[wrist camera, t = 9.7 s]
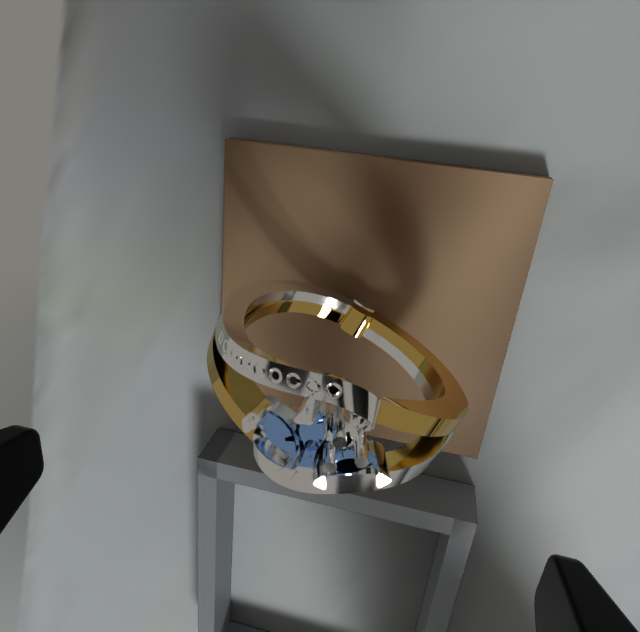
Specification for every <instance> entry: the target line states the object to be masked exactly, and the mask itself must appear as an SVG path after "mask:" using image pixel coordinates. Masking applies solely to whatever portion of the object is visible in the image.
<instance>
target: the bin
mask: <svg viewBox="0 0 640 632" xmlns="http://www.w3.org/2000/svg"><path fill="white" fill-rule="evenodd" d="M234 483H236V484H241V485H245V486H249V487H253V488H257V489H261V490H265V491H269V492H273V493H278V494H282V495H286V496H290V497H294V498H298V499H302V500H306V501H311V502H315V503H319V504H323V505H327V506H331V507H335V508H339V509H343V510H348V511H352V512H356V513H360V514H364V515H368V516H372V517H376V518H381V519H385V520H389V521H393V522H397V523H401V524H405V525H409V526H413V527H418V528H422V529H426V530H430V531H434V532H438V533H440V536H439V540H438V544H437V548H436V552H435V556H434V560H433V564H432V567H431V571H430V575H429V579H428V583H427V587H426V591H425V595H424V599H423V603H422V606H421V610H420V614H419V618H418V622H417V626H416V630H415V632H446V630H447V627H448V623H449V620H450V617H451V613H452V610H453V606H454V603H455V600H456V596H457V593H458V589H459V586H460V582H461V579H462V576H463V572H464V569H465V565H466V562H467V559H468V555H469V552H470V548H471V545H472V542H473V538H474V535H475V531H476V528H477V524H478V523H477V511H476V498H475V486H473V485H468V484H464V483H459V482H455V481H450V480H446V479H441V478H437V477H433V476H428V475H424V474H419V475H418V476H416V477H415V478H413V479H411V480H409V481H407V482H405V483H403V484H400V485H397V486H394V487H390V488H386V489H381V490H375V491H368V492H358V493H346V494H313V493H305V492H299V491H295V490H292V489H289V488H286V487H284V486H282V485H280V484H278V483H276V482H274V481H273V480H272V479H270V478H269V477H268V476H267V475H266V474H265V473H264V472H263V471H262V470H261V469H260V467H259V466H258V464H257V462H256V460H255V457H254V452H253V442H252V441H251V440H250V439H249V438H248V437H247V436H246V435H245V434H242V433H237V432H233V431H228V430H224V429H219V428H218V430H217V431H216V432H215V434H214V435H213V437H212V438H211V440H210V441H209V442H208V444H207V445H206V447H205V448H204V450H203V451H202V452H201V454H200V455H199V457H198V632H266V631H262V630H259V629H255V628H252V627H248V626H245V625H242V624H238V623H235V622H231V621H230V595H231V566H232V538H233V510H234Z"/></svg>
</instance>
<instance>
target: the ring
mask: <svg viewBox="0 0 640 632" xmlns="http://www.w3.org/2000/svg"><path fill="white" fill-rule="evenodd" d="M375 311H376V309H375V308H374V307H373V306H371V305H370V304H368V303H367V302H365V301H363V300H361V299H358V298H354V300H353V299H351V298H349V297H346V296H344V295H342V294H339V293H337V292H334V291H331V290H328V289H325V288H322V287H319V286H315V285H311V284H307V283H302V282H296V281H288V280H264V281H257V282H252V283H249V284H246V285H243V286H241V287H240V288H238V289H236V290H235V291H234V292H233V293H232V294H231V295H230V296H229V297H228V299H227V301H226V303H225V305H224V307H223V310H222V312H221V314H220V316H219V318H218V321H217V325H216V327H215V330H214V332H213V335H212V337H211V340H210V343H209V346H208V352H207V366H208V372H209V377H210V380H211V383H212V386H213V389H214V391H215V393H216V395H217V397H218V399H219V401H220V403H221V404H222V406H223V407H224V409H225V411H226V412H227V413H228V415H229V416H230V417H231V419H232V420H233V421H234V423H235V424H236V425H237V426H238V427H239V428H240V429H241V431H242V432H243V433H244V434H245V435H246V436H247V437H248V438H249V439H250V440H251V441H252V442H253V452H254V457H255V460H256V462H257V464H258V466H259V467H260V469H261V470H262V471H263V472H264V473H265V474H266V475H267V476H268V477H269V478H270V479H272V480H273V481H274V482H276V483H278V484H280V485H282V486H284V487H286V488H289V489H292V490H295V491H299V492H305V493H313V494H346V493H358V492H368V491H375V490H381V489H386V488H390V487H394V486H397V485H400V484H403V483H405V482H407V481H409V480H411V479H413V478H415V477H416V476H418V475H419V474H421V473H422V472H423V471H424V470H426V469H427V468H428V467H429V466H430V464H431V463H432V462H433V461H434V460H435V458H436V457H437V456H438V454H439V453H440V452H441V451H442V449H443V448H444V447H445V445H446V444H447V443H448V441H449V440H450V438H451V436H452V435H453V432H454V431H455V430H456V428H457V427H458V425H459V424H460V423H461V421H462V420H463V419H464V417H465V416H466V414H467V413H468V408H469V407H468V401H467V398H466V396H465V394H464V392H463V390H462V388H461V386H460V385H459V383H458V382H457V380H456V379H455V378H454V376H453V375H452V374H451V373H450V371H449V370H448V369H447V368H446V367H445V366H444V365H443V363H442V362H441V361H440V360H439V359H438V358H437V357H436V356H435V355H434V354H433V353H431V352H430V351H429V350H428V349H427V348H426V347H425V346H424V345H422V344H421V343H420V342H419V341H418V340H416V339H415V338H414V337H413V336H411V335H410V334H409V333H407V332H406V331H404V330H403V329H402V328H400V327H399V326H397V325H396V324H394V323H393V322H391V321H390V320H388V319H387V318H385V317H384V316H382V315H380V314H379V313H377V312H375ZM283 312H297V313H305V314H311V315H315V316H319V317H322V318H325V319H328V320H331V321H333V322H336V323H338V324H340V328H341V329H342V330H344V331H345V332H347V333H348V334H350V335H352V336H354V337H357V338H362V336H363V337H365V338H367V339H368V340H370V341H371V342H373V343H374V344H376V345H377V346H379V347H380V348H381V349H383V350H384V351H385V352H387V353H388V354H389V355H390V356H392V357H393V358H394V359H395V360H396V361H397V362H398V363H399V364H400V365H401V366H402V367H403V368H404V369H405V370H406V371H407V372H408V373H409V374H410V376H411V377H412V378H413V379H414V381H415V382H416V384H417V385H418V387H419V388H420V390H421V392H422V394H423V396H424V398H425V400H426V401H420V400H404V399H395V398H387V397H379V396H375V395H374V394H372V393H371V392H369V391H367V390H366V389H364V388H362V387H359V386H358V385H356V384H355V383H354V382H352V381H350V380H348V379H345V378H343V377H340V376H337V375H333V374H330V373H326V372H322V371H318V370H314V369H310V368H307V367H303V366H299V365H296V364H292V363H289V362H286V361H283V360H280V359H277V358H275V357H272V356H270V355H268V354H266V353H264V352H263V351H261V350H259V349H258V348H257V347H256V346H254V345H253V344H252V343H251V341H250V340H249V339H248V337H247V335H246V332H245V329H246V328H247V327H248V326H249V325H250V324H252V323H253V322H255V321H256V320H258V319H260V318H262V317H265V316H267V315H271V314H275V313H283ZM254 381H255V382H257V383H260V384H262V385H265V386H268V387H271V388H274V389H277V390H280V391H284V392H288V393H291V394H295V395H299V396H304V399H303V401H302V404H301V405H299V406H292V407H287V406H286V405H284V404H282V403H280V399H278V398H276V397H274V396H272V395H267V396H266V395H265V394H264V393H263V392H262V391H261V390H260V389H259V387H258V386H257V385H256V383H255V382H254ZM326 402H327V403H330V404H333V405H327V404H326ZM376 423H377V424H380V425H383V426H386V427H389V428H392V429H395V430H398V431H402V432H406V433H410V434H415V435H420V436H419V437H418V438H417V439H415V440H414V441H412V442H410V443H409V444H407V445H405V446H402V447H400V448H397V449H394V450H391V451H388V452H385V451H384V446H383V445H382V444H381V443H379V442H377V441H375V440H373V439H372V440H371V441H369V440H367V437H366V431H371V430H373V429H374V427H375V424H376Z"/></svg>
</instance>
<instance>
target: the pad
mask: <svg viewBox="0 0 640 632" xmlns="http://www.w3.org/2000/svg"><path fill="white" fill-rule="evenodd" d="M553 180H554V179H552V178H551V177H547V176H539V175H531V174H523V173H515V172H506V171H498V170H490V169H482V168H474V167H466V166H457V165H449V164H441V163H433V162H425V161H417V160H409V159H400V158H392V157H384V156H376V155H368V154H360V153H352V152H343V151H335V150H327V149H319V148H311V147H303V146H294V145H286V144H278V143H270V142H262V141H254V140H246V139H237V138H228V139H225V176H224V228H223V279H222V310H223V307H224V305H225V303H226V301H227V299H228V297H229V296H230V295H231V294H232V293H233V292H234V291H235V290H236V289H238V288H240V287H241V286H243V285H246V284H249V283H252V282H257V281H264V280H288V281H296V282H302V283H307V284H311V285H315V286H319V287H322V288H325V289H328V290H331V291H334V292H337V293H339V294H342V295H344V296H346V297H349V298H351V299H353V300H354V298H358V299H361V300H363V301H365V302H367V303H368V304H370V305H371V306H373V307H374V308H375V309H376V311H375V312H377V313H379V314H380V315H382V316H384V317H385V318H387V319H388V320H390V321H391V322H393V323H394V324H396V325H397V326H399V327H400V328H402V329H403V330H404V331H406V332H407V333H409V334H410V335H411V336H413V337H414V338H415V339H416V340H418V341H419V342H420V343H421V344H422V345H424V346H425V347H426V348H427V349H428V350H429V351H430V352H431V353H433V354H434V355H435V356H436V357H437V358H438V359H439V360H440V361H441V362H442V363H443V365H444V366H445V367H446V368H447V369H448V370H449V371H450V373H451V374H452V375H453V376H454V378H455V379H456V380H457V382H458V383H459V385H460V386H461V388H462V390H463V392H464V394H465V396H466V398H467V401H468V407H469V408H468V413H467V414H466V416H465V417H464V419H463V420H462V421H461V423H460V424H459V425H458V427H457V428H456V430H455V431H454V432H453V435H452V436H451V438H450V440H449V441H448V443H447V444H446V445H445V447H444V448H443V449H442V451H443V452H448V453H452V454H457V455H461V456H466V457H471V458H475V459H477V457H478V454H479V450H480V447H481V443H482V439H483V436H484V432H485V428H486V425H487V421H488V417H489V414H490V410H491V406H492V403H493V399H494V395H495V392H496V388H497V384H498V381H499V377H500V373H501V370H502V366H503V363H504V359H505V355H506V352H507V348H508V344H509V341H510V337H511V333H512V330H513V326H514V322H515V319H516V315H517V311H518V308H519V304H520V300H521V297H522V293H523V289H524V286H525V282H526V279H527V275H528V271H529V268H530V264H531V260H532V257H533V253H534V249H535V246H536V242H537V238H538V235H539V231H540V227H541V224H542V220H543V216H544V213H545V209H546V205H547V202H548V198H549V195H550V191H551V187H552V184H553ZM245 332H246V335H247V337H248V339H249V340H250V341H251V343H252V344H253V345H254V346H256V347H257V348H258V349H259V350H261V351H263V352H264V353H266V354H268V355H270V356H272V357H275V358H277V359H280V360H283V361H286V362H289V363H292V364H296V365H299V366H303V367H307V368H310V369H314V370H318V371H322V372H326V373H330V374H333V375H337V376H340V377H343V378H345V379H348V380H350V381H352V382H354V383H355V384H356V385H358V386H359V387H362V388H364V389H366V390H367V391H369V392H371V393H372V394H374V395H375V396H379V397H387V398H395V399H404V400H420V401H426V400H425V398H424V396H423V394H422V392H421V390H420V388H419V387H418V385H417V384H416V382H415V381H414V379H413V378H412V377H411V376H410V374H409V373H408V372H407V371H406V370H405V369H404V368H403V367H402V366H401V365H400V364H399V363H398V362H397V361H396V360H395V359H394V358H393V357H392V356H390V355H389V354H388V353H387V352H385V351H384V350H383V349H381V348H380V347H379V346H377V345H376V344H374V343H373V342H371V341H370V340H368V339H367V338H365V337H363V336H362V338H357V337H354V336H352V335H350V334H348V333H347V332H345V331H344V330H342V329H341V328H340V324H338V323H336V322H333V321H331V320H328V319H325V318H322V317H319V316H315V315H311V314H305V313H297V312H283V313H275V314H271V315H267V316H265V317H262V318H260V319H258V320H256V321H255V322H253V323H252V324H250V325H249V326H248V327H247V328H246V329H245ZM254 382H255V381H254ZM255 383H256V385H257V386H258V387H259V389H260V390H261V391H262V392H263V393H264V394H265V395H266V396H267V395H272V396H274V397H276V398H278V399H280V403H282V404H284V405H286V406H287V407H292V406H299V405H301V404H302V401H303V399H304V396H299V395H295V394H291V393H288V392H284V391H280V390H277V389H274V388H271V387H268V386H265V385H262V384H260V383H257V382H255ZM326 404H327V405H333V404H330V403H327V402H326ZM366 435H369V436H374V437H378V438H383V439H387V440H392V441H397V442H401V443H406V444H409V443H410V442H412V441H414V440H415V439H417V438H418V437H419V436H420V435H415V434H410V433H406V432H402V431H398V430H395V429H392V428H389V427H386V426H383V425H380V424H377V423H376V424H375V427H374V429H373V430H371V431H366Z"/></svg>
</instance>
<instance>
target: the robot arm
mask: <svg viewBox="0 0 640 632" xmlns="http://www.w3.org/2000/svg"><path fill="white" fill-rule="evenodd" d="M43 468H44V461H43V455H42V449H41V442H40V436H39V434H38V432H37V431H36V430H34V429H32V428H28V427H23V426H19V425H13V426H9V427H6V428H3V429H0V534H1V532H2V531H3V529H4V528H5V527H6V525H7V524H8V522H9V521H10V520H11V518H12V517H13V515H14V514H15V512H16V511H17V510H18V508H19V507H20V505H21V504H22V502H23V501H24V500H25V498H26V497H27V496H28V494H29V493H30V491H31V490H32V489H33V487H34V486H35V484H36V483H37V481H38V480H39V478H40V477H41V475H42V472H43ZM534 607H535V624H536V632H638V631H637V629H636V628H635V627H634V626H633V624H632V623H631V622H630V621H629V620H628V618H627V617H626V616H625V615H624V613H623V612H622V611H621V610H620V608H619V607H618V606H617V605H616V604H615V602H614V601H613V600H612V599H611V597H610V596H609V595H608V594H607V593H606V591H605V590H604V589H603V588H602V586H601V585H600V584H599V583H598V581H597V580H596V579H595V578H594V577H593V575H592V574H591V573H590V572H589V570H588V569H587V568H586V567H585V566H584V564H583V563H581V562H580V561H579V560H577V559H573V558H569V557H565V556H560V555H551V556H550V557H549V559H548V561H547V563H546V566H545V568H544V571H543V573H542V576H541V579H540V581H539V584H538V586H537V589H536V593H535V602H534Z"/></svg>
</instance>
